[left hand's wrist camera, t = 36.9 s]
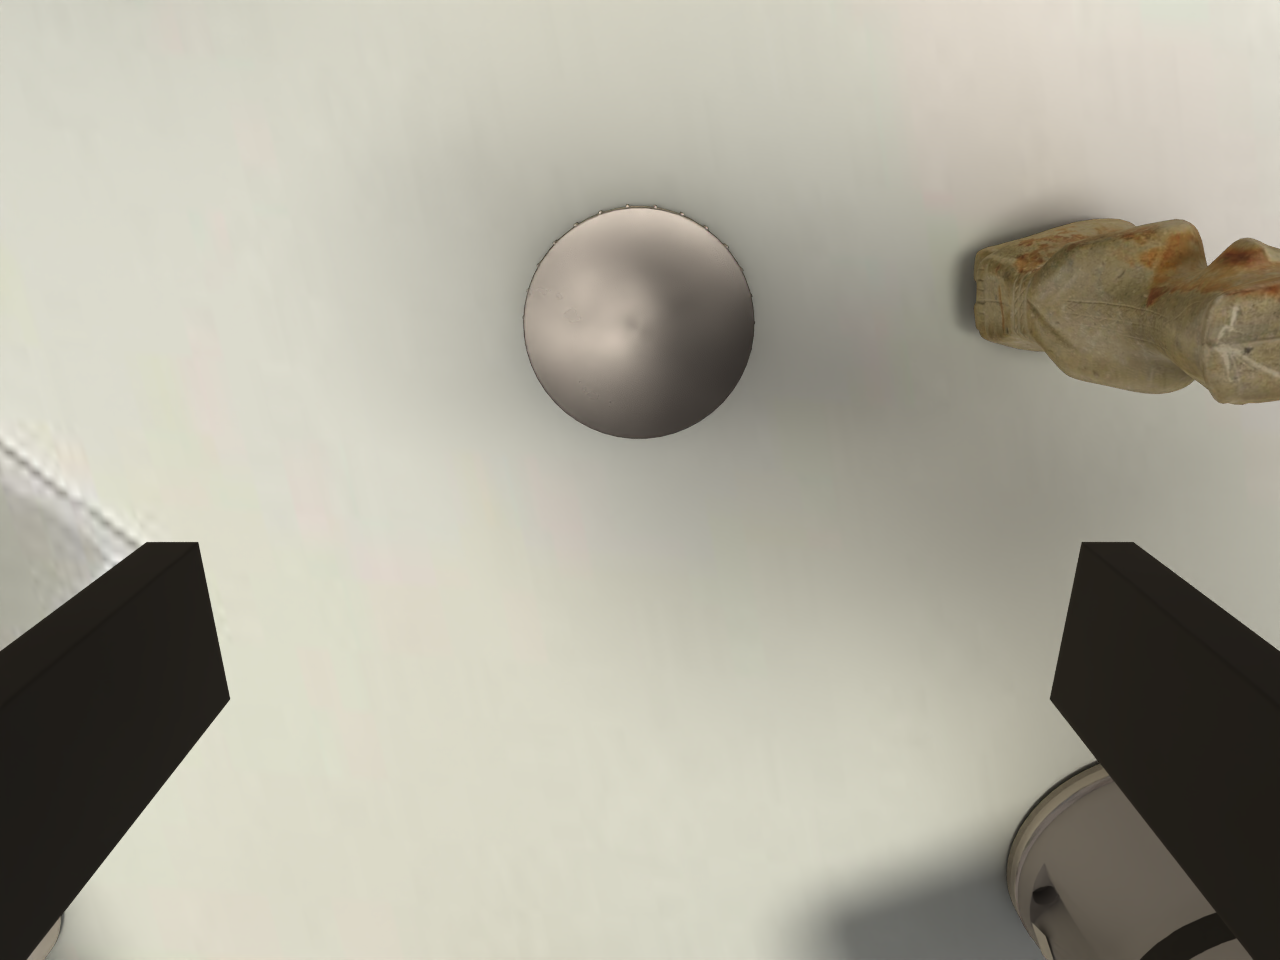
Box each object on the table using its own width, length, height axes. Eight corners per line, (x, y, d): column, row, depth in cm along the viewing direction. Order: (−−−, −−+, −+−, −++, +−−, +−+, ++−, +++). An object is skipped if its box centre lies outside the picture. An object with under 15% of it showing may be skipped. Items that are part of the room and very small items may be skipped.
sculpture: (1111, 336, 37) (1399, 434, 23) (950, 352, 37) (1137, 459, 23) (1125, 200, 35) (1448, 217, 21) (954, 218, 35) (1162, 246, 21)
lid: (648, 471, 40) (649, 483, 38) (481, 332, 37) (473, 339, 36) (797, 312, 37) (804, 318, 35) (627, 152, 35) (626, 150, 33)
